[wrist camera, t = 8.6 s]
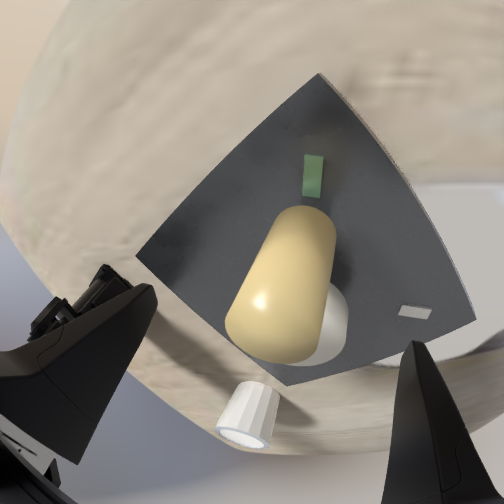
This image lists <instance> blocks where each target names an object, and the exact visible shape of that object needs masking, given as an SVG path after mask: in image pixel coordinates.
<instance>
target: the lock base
mask: <svg viewBox="0 0 504 504" xmlns="http://www.w3.org/2000/svg"><path fill="white" fill-rule="evenodd" d="M299 205H304V206H310V207H314V208H316V209H318V210H320V211H322V212H323V213H325V214H326V215H327V216H328V217H329V218H330V219H331V221H332V222H333V224H334V226H335V229H336V234H337V238H336V246H335V253H334V259H333V266H332V272H331V278H330V282H331V283H332V284H333V285H334V286H335V287H336V288H337V289H338V290H339V291H340V292H341V293H342V295H343V296H344V298H345V300H346V302H347V305H348V310H349V316H348V325H347V334H346V341H345V345H344V347H343V349H342V350H341V352H340V353H339V354H338V355H337V356H336V357H334V358H333V359H331V360H329V361H327V362H325V363H322V364H318V365H313V366H292V365H286V364H277V363H271V362H267V361H263V360H261V359H258V358H255V357H253V356H251V355H249V354H248V353H246V352H245V351H243V350H242V349H240V348H239V347H238V346H237V345H236V344H235V343H234V342H233V341H232V340H231V338H230V337H229V335H228V333H227V331H226V328H225V318H226V316H227V314H228V312H229V310H230V308H231V306H232V304H233V302H234V300H235V298H236V296H237V294H238V292H239V290H240V288H241V286H242V284H243V282H244V280H245V278H246V276H247V274H248V272H249V271H250V269H251V267H252V265H253V263H254V261H255V259H256V257H257V255H258V253H259V251H260V249H261V247H262V245H263V243H264V241H265V239H266V237H267V235H268V233H269V231H270V229H271V227H272V225H273V223H274V221H275V219H276V218H277V216H278V215H279V214H280V213H281V212H282V211H284V210H285V209H287V208H290V207H293V206H299ZM136 257H137V258H138V259H139V260H140V261H141V262H142V263H143V264H144V265H145V266H146V267H147V268H148V269H149V270H150V271H151V272H152V273H153V274H154V275H155V276H156V277H157V278H158V279H159V280H161V281H162V282H163V283H164V284H165V285H166V286H167V287H168V288H169V289H170V290H171V291H172V292H173V293H175V294H176V295H177V296H178V297H179V298H180V299H181V300H182V301H183V302H184V303H186V304H187V305H188V306H189V307H190V308H191V309H192V310H193V311H195V312H196V313H197V314H198V315H199V316H200V317H201V318H203V319H204V320H205V321H206V322H207V323H208V324H209V325H211V326H212V327H213V328H214V329H215V330H216V331H218V332H219V333H220V334H221V335H222V336H224V337H225V338H226V339H227V340H228V341H230V342H231V343H232V344H233V345H234V346H236V347H237V348H238V349H239V350H241V351H242V352H243V353H244V354H246V355H247V356H248V357H249V358H251V359H252V360H253V361H254V362H256V363H257V364H258V365H259V366H261V367H262V368H263V369H265V370H266V371H267V372H268V373H270V374H271V375H272V376H274V377H275V378H276V379H278V380H279V381H280V382H282V383H283V384H284V385H286V386H291V385H295V384H299V383H303V382H307V381H311V380H315V379H319V378H323V377H326V376H330V375H334V374H337V373H341V372H344V371H347V370H351V369H354V368H357V367H360V366H363V365H367V364H370V363H373V362H376V361H379V360H381V359H384V358H387V357H389V356H393V355H395V354H398V353H401V352H404V351H405V350H406V348H407V347H408V345H409V343H410V342H411V341H412V340H415V341H422V342H423V343H426V342H429V341H431V340H433V339H436V338H438V337H440V336H443V335H445V334H447V333H449V332H452V331H454V330H456V329H458V328H460V327H462V326H464V325H467V324H469V323H471V322H473V321H475V320H476V316H475V313H474V309H473V306H472V303H471V301H470V298H469V296H468V294H467V291H466V289H465V287H464V284H463V282H462V280H461V278H460V276H459V273H458V271H457V269H456V267H455V265H454V263H453V261H452V259H451V257H450V255H449V253H448V251H447V249H446V247H445V245H444V243H443V241H442V239H441V237H440V236H439V234H438V232H437V230H436V228H435V227H434V225H433V223H432V221H431V219H430V218H429V216H428V214H427V212H426V211H425V209H424V207H423V206H422V204H421V203H420V201H419V199H418V197H417V196H416V194H415V193H414V191H413V190H412V188H411V186H410V185H409V183H408V182H407V180H406V179H405V177H404V176H403V174H402V173H401V171H400V170H399V168H398V167H397V165H396V164H395V163H394V161H393V160H392V158H391V157H390V156H389V154H388V153H387V151H386V150H385V149H384V147H383V146H382V145H381V143H380V142H379V141H378V139H377V138H376V137H375V135H374V134H373V133H372V132H371V130H370V129H369V128H368V126H367V125H366V124H365V123H364V121H363V120H362V119H361V118H360V117H359V115H358V114H357V113H356V112H355V111H354V109H353V108H352V107H351V106H350V105H349V103H348V102H347V101H346V100H345V99H344V98H343V97H342V95H341V94H340V93H339V92H338V91H337V90H336V89H335V88H334V87H333V86H332V84H331V83H330V82H329V81H328V80H327V79H326V78H325V77H324V76H323V75H322V74H321V73H318V74H317V75H315V76H314V77H313V78H312V79H310V80H309V81H308V82H307V83H306V84H305V85H303V86H302V87H301V88H300V89H299V90H297V91H296V92H295V93H294V94H293V95H292V96H291V97H289V98H288V99H287V100H286V101H285V102H284V103H283V104H281V105H280V106H279V107H278V108H277V109H276V110H275V111H274V112H273V113H271V114H270V115H269V116H268V117H267V118H266V119H265V120H264V121H263V122H262V123H261V124H259V125H258V126H257V127H256V128H255V129H254V130H253V131H252V132H251V133H250V134H249V135H248V136H247V137H246V138H245V139H244V140H243V141H242V142H240V143H239V144H238V145H237V146H236V147H235V148H234V149H233V150H232V151H231V152H230V153H229V154H228V155H227V156H226V157H225V158H224V159H223V160H222V161H221V162H220V163H219V164H218V165H217V166H216V167H215V168H214V169H213V170H212V171H211V172H210V173H209V174H208V175H207V176H206V177H205V179H204V180H203V181H202V182H201V183H200V184H199V185H198V186H197V187H196V188H195V189H194V190H193V191H192V192H191V193H190V194H189V195H188V197H187V198H186V199H185V200H184V201H183V202H182V203H181V204H180V205H179V206H178V207H177V208H176V210H175V211H174V212H173V213H172V214H171V215H170V216H169V217H168V218H167V220H166V221H165V222H164V223H163V224H162V225H161V226H160V228H159V229H158V230H157V231H156V232H155V233H154V234H153V236H152V237H151V238H150V239H149V240H148V241H147V243H146V244H145V245H144V246H143V247H142V248H141V250H140V251H139V252H138V253H137V254H136Z"/></svg>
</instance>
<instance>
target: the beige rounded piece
mask: <svg viewBox="0 0 504 504" xmlns="http://www.w3.org/2000/svg"><path fill="white" fill-rule="evenodd" d="M336 238H337V234H336V229H335V226H334V224H333V222H332V221H331V219H330V218H329V217H328V216H327V215H326V214H325V213H323V212H322V211H320V210H318V209H316V208H314V207H310V206H304V205H299V206H293V207H290V208H287V209H285V210H284V211H282V212H281V213H280V214H279V215H278V216H277V218H276V219H275V221H274V223H273V225H272V227H271V229H270V231H269V233H268V235H267V237H266V239H265V241H264V243H263V245H262V247H261V249H260V251H259V253H258V255H257V257H256V259H255V261H254V263H253V265H252V267H251V269H250V271H249V272H248V274H247V276H246V278H245V280H244V282H243V284H242V286H241V288H240V290H239V292H238V294H237V296H236V298H235V300H234V302H233V304H232V306H231V308H230V310H229V312H228V314H227V316H226V318H225V328H226V331H227V333H228V335H229V337H230V338H231V340H232V341H233V342H234V343H235V344H236V345H237V346H238V347H239V348H240V349H242V350H243V351H245V352H246V353H248V354H249V355H251V356H253V357H255V358H258V359H261V360H263V361H267V362H271V363H277V364H286V365H292V366H313V365H318V364H322V363H325V362H327V361H329V360H331V359H333V358H334V357H336V356H337V355H338V354H339V353H340V352H341V350H342V349H343V347H344V345H345V341H346V334H347V325H348V316H349V310H348V305H347V302H346V300H345V298H344V296H343V295H342V293H341V292H340V291H339V290H338V289H337V288H336V287H335V286H334V285H333V284H332V283H331V282H330V278H331V272H332V266H333V259H334V253H335V246H336Z"/></svg>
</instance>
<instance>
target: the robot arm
mask: <svg viewBox="0 0 504 504" xmlns="http://www.w3.org/2000/svg"><path fill="white" fill-rule="evenodd" d="M157 305H158V300H157V297H156V294H155V291H154V288H153V286H152V285H149V284H146V283H141V284H139V285H137V286H135V287H133V288H132V289H131V288H130V287H129V286H127V285H126V284H125V283H124V282H123V281H122V280H121V279H120V278H119V277H118V276H117V275H116V274H115V273H114V272H113V271H112V270H111V269H110V268H109V267H108V266H107V265H106V264H103V265H102V266H101V267H100V269H99V270H98V272H97V274H96V275H95V277H94V278H93V280H92V282H91V283H90V285H89V288H88V289H87V290H86V291H85V292H84V294H83V295H82V296H81V297H80V298H79V299H78V300H77V301H76V302H75V303H74V304H73V306H72V307H71V305H70V304H69V303H68V301H67V300H66V299H65V298H63V299H62V300H61V299H60V298H58V297H57V296H56V297H55V298H54V299H53V300H52V301H51V302H50V303H49V304H48V305H47V307H46V308H45V309H44V310H43V311H42V312H41V313H40V314H39V315H38V316H37V318H36V319H35V320H34V321H33V322H32V323H31V332H30V336H29V338H28V339H27V341H28V342H29V343H27V344H25V345H23V346H21V347H18V348H16V349H14V350H11V351H3V352H2V351H1V352H0V504H78V503H76V502H75V501H74V500H72V499H71V498H70V497H68V496H67V495H66V494H65V493H63V492H62V491H61V490H60V489H58V488H59V486H60V484H61V481H60V477H59V472H58V468H57V463H56V459H55V458H54V457H55V455H56V454H58V455H60V456H62V457H64V458H65V459H67V460H69V461H71V462H73V463H74V464H76V465H78V464H79V462H80V460H81V458H82V456H83V454H84V452H85V450H86V448H87V446H88V443H89V442H90V440H91V437H92V435H93V433H94V431H95V429H96V427H97V425H98V423H99V421H100V419H101V417H102V415H103V413H104V411H105V409H106V407H107V405H108V403H109V401H110V400H111V398H112V396H113V394H114V392H115V390H116V388H117V386H118V384H119V382H120V380H121V379H122V377H123V375H124V373H125V371H126V369H127V368H128V366H129V364H130V362H131V360H132V358H133V357H134V355H135V353H136V351H137V349H138V348H139V346H140V344H141V342H142V340H143V338H144V336H145V334H146V331H147V329H148V327H149V324H150V322H151V320H152V317H153V315H154V313H155V311H156V308H157ZM56 315H57V317H58V318H59V319H60V320H59V321H58V320H57V319H56V317H55V316H56ZM381 504H504V498H503V497H502V496H501V495H500V494H499V493H498V492H497V490H496V489H495V487H494V485H493V483H492V481H491V479H490V477H489V475H488V473H487V471H486V469H485V467H484V465H483V463H482V461H481V459H480V457H479V455H478V453H477V451H476V449H475V447H474V444H473V442H472V440H471V438H470V435H469V433H468V431H467V428H465V424H464V422H463V419H462V417H461V415H460V413H459V411H458V408H457V406H456V404H455V402H454V400H453V398H452V396H451V394H450V392H449V390H448V387H447V385H446V383H445V381H444V380H443V378H442V376H441V374H440V372H439V370H438V368H437V366H436V364H435V362H434V360H433V358H432V357H431V355H430V353H429V351H428V349H427V347H426V346H425V344H424V343H423V342H422V341H415V340H412V341H411V342H410V343H409V345H408V347H407V348H406V350H405V352H404V354H403V356H402V358H401V363H400V371H399V378H398V384H397V390H396V396H395V404H394V416H393V428H392V437H391V446H390V454H389V461H388V468H387V474H386V480H385V486H384V492H383V496H382V502H381Z"/></svg>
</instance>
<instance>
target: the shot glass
mask: <svg viewBox="0 0 504 504" xmlns="http://www.w3.org/2000/svg"><path fill="white" fill-rule="evenodd" d="M279 400H280V395H279V393H278V392H277V391H276V390H274V389H273V388H271V387H269V386H267V385H265V384H262V383H258V382H252V381H245V382H241V383H240V384H238V386H237V388H236V390H235V391H234V393H233V395H232V397H231V399H230V401H229V402H228V404H227V406H226V408H225V410H224V411H223V413H222V415H221V417H220V418H219V420H218V422H217V424H216V426H215V427H214V431H215V432H216V433H217V434H218V435H219V436H221V437H222V438H224V439H226V440H228V441H230V442H232V443H235V444H238V445H241V446H244V447H248V448H253V449H266V448H269V446H270V442H271V437H272V433H273V428H274V424H275V419H276V414H277V410H278V405H279Z"/></svg>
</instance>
